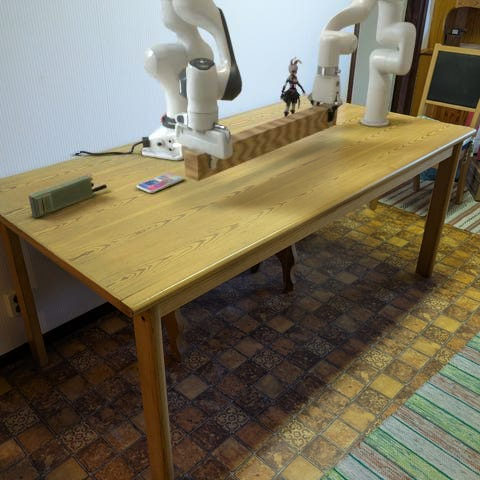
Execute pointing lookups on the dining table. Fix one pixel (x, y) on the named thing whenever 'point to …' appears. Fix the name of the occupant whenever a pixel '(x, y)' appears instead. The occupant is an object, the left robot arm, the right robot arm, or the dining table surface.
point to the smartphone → (159, 182)
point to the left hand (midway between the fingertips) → (203, 165)
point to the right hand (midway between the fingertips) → (323, 119)
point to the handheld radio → (62, 195)
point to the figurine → (291, 88)
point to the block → (261, 140)
